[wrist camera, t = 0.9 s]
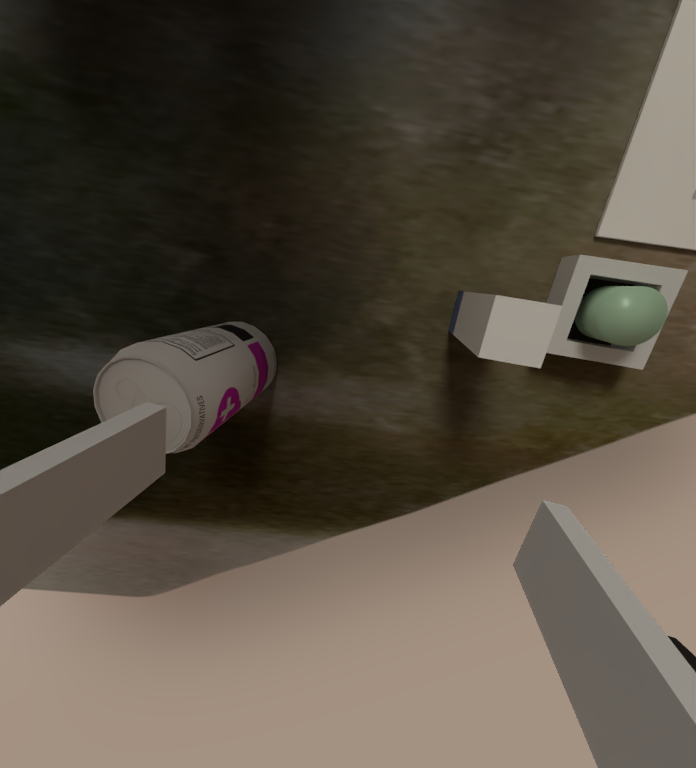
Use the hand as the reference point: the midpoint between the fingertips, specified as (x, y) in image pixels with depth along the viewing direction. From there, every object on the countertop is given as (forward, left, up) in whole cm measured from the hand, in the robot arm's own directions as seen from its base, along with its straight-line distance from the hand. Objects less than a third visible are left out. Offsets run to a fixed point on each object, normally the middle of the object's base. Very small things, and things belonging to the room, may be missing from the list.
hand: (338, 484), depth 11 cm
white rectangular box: (-5, +8, -23) cm, 25 cm away
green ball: (-7, +18, -21) cm, 29 cm away
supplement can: (+3, -14, -24) cm, 28 cm away
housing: (-7, +18, -23) cm, 30 cm away
